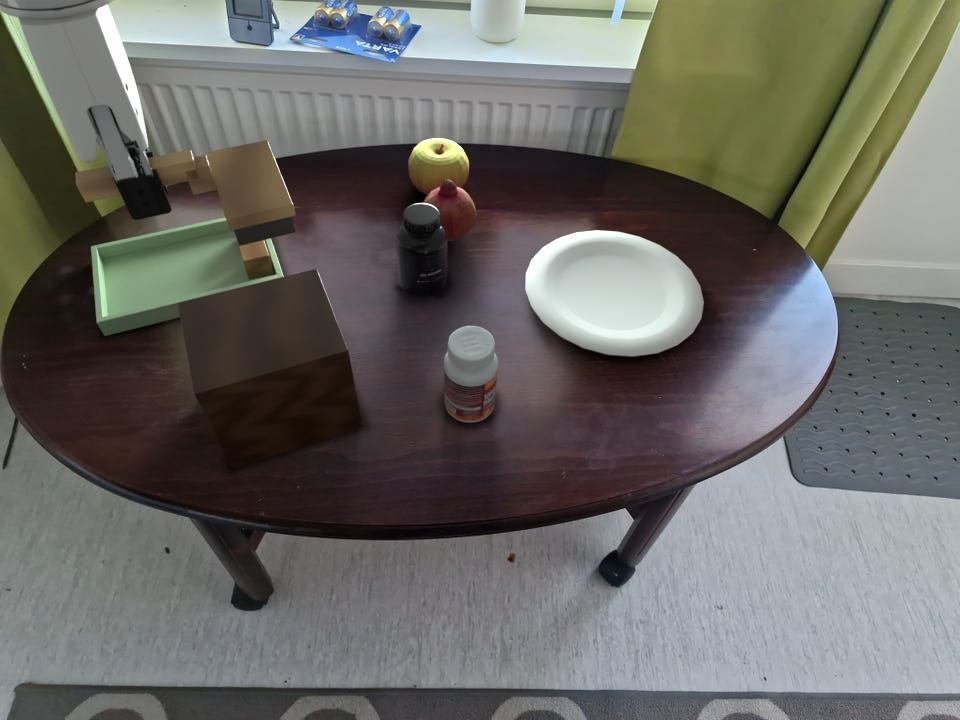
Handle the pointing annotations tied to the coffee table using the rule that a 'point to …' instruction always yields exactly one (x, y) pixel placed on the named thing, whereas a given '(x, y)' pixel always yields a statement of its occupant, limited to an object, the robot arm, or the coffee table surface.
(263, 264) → the cork block
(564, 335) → the plate
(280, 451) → the stand
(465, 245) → the coffee table surface
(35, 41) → the robot arm
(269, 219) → the brush
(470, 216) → the fruit
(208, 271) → the tray
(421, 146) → the apple
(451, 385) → the pill bottle
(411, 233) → the supplement bottle
